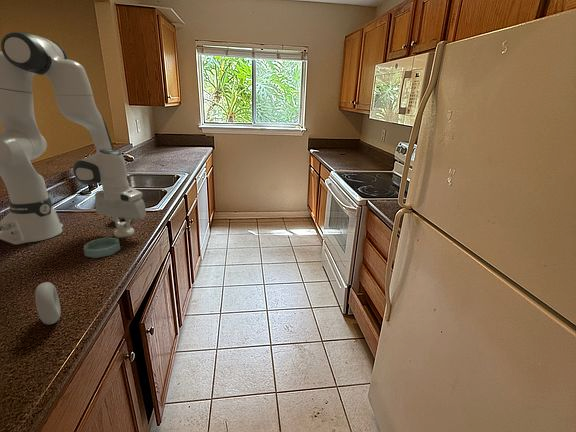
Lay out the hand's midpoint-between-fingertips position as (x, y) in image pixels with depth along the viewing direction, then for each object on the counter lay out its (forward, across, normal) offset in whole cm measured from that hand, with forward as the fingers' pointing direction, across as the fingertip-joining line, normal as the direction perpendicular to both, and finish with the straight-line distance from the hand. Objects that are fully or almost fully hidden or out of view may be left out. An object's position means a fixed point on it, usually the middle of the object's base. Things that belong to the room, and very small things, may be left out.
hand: (123, 227), depth 123 cm
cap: (+3, 0, 0) cm, 3 cm away
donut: (+3, +20, -48) cm, 52 cm away
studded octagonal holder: (+3, +3, -14) cm, 15 cm away
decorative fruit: (+3, -10, +12) cm, 16 cm away
